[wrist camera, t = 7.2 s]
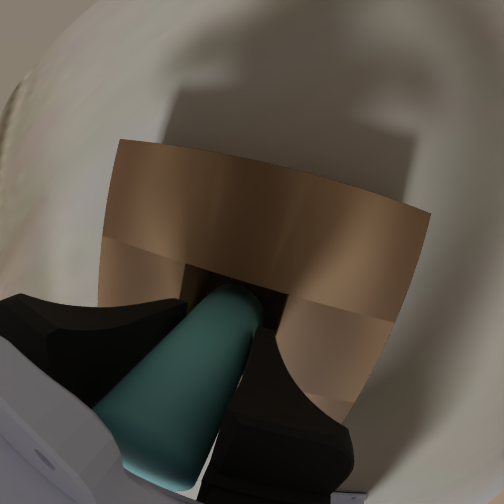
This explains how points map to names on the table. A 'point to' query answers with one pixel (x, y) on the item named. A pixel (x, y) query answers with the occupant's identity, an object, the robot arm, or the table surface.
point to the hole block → (265, 254)
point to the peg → (183, 390)
